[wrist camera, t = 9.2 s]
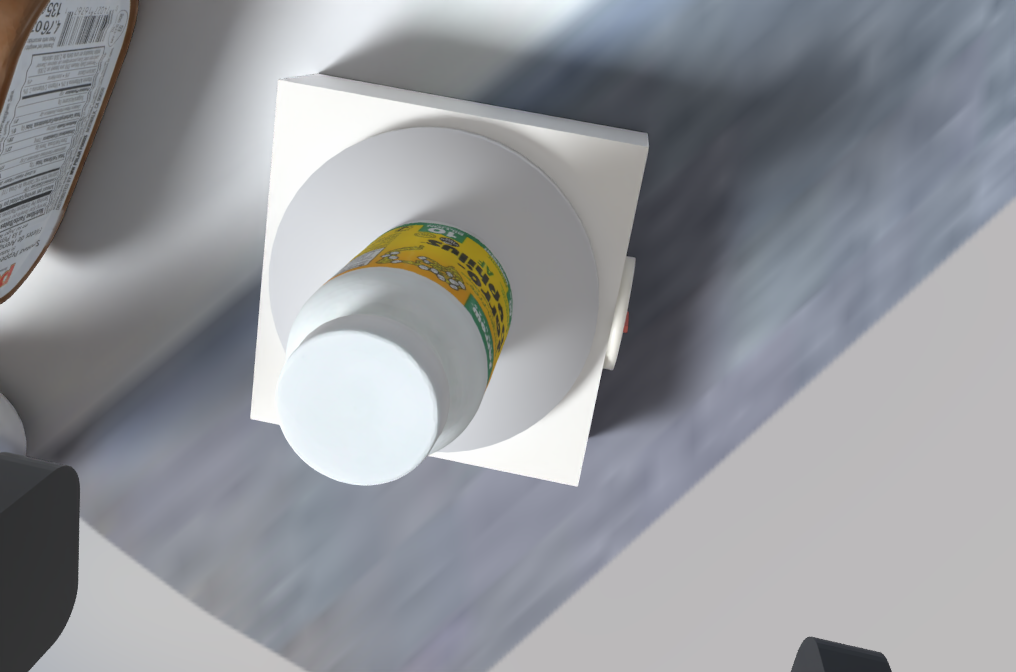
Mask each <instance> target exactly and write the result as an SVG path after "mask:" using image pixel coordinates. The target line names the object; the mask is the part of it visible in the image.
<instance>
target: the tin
mask: <svg viewBox="0 0 1016 672" xmlns="http://www.w3.org/2000/svg"><path fill="white" fill-rule="evenodd" d="M138 5H139V0H0V304H2V303H3V302H5V301H6V300H7V299H9V298H10V297H11V296H12V295H13V294H14V293H15V292H16V291H17V289H18V288H19V287H20V286H21V285H22V284H23V282H24V281H25V280H26V279H27V278H28V276H29V275H30V274H31V272H32V271H33V269H34V268H35V267H36V265H37V264H38V263H39V261H40V260H41V258H42V256H43V255H44V253H45V251H46V250H47V248H48V246H49V245H50V243H51V241H52V240H53V238H54V236H55V234H56V232H57V230H58V228H59V226H60V223H61V221H62V219H63V216H64V214H65V211H66V209H67V206H68V204H69V201H70V199H71V196H72V194H73V191H74V189H75V186H76V183H77V181H78V178H79V176H80V173H81V171H82V168H83V166H84V163H85V161H86V158H87V156H88V153H89V151H90V148H91V145H92V143H93V140H94V138H95V135H96V132H97V130H98V127H99V125H100V122H101V119H102V117H103V114H104V111H105V109H106V106H107V104H108V101H109V98H110V96H111V93H112V91H113V88H114V85H115V83H116V80H117V77H118V74H119V72H120V69H121V66H122V64H123V61H124V58H125V56H126V53H127V50H128V47H129V44H130V41H131V38H132V34H133V31H134V27H135V23H136V18H137V13H138Z"/></svg>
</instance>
